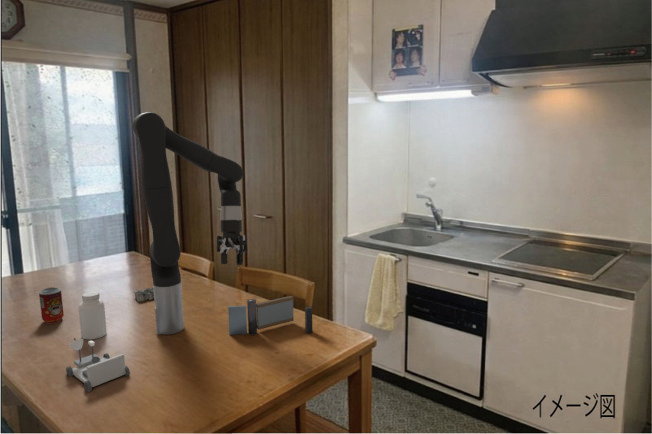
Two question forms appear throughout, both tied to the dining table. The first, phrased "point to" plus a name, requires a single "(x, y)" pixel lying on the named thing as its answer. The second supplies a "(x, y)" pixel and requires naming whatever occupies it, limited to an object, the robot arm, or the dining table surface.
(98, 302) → the pill bottle
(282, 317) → the gate
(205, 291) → the dining table surface
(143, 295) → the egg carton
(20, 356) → the dining table surface
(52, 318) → the soda can
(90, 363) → the toy space rover
